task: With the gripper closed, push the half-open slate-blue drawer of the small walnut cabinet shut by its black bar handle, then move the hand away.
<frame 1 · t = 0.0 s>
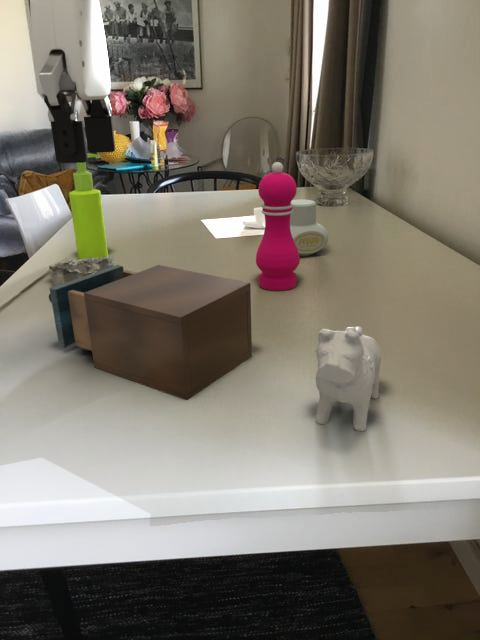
hand: (88, 156, 63), 24 cm above the table, tool pointing down, fingers open, 9 cm apart
pepper mill: (277, 285, 95), on the table
egg carton: (85, 281, 100), on the table
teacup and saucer: (248, 226, 136), on the table
air freshener: (300, 253, 113), on the table
soap dispenser: (95, 258, 114), on the table
drawer: (113, 310, 73), point 5 cm above the table, slide at 6.0 cm
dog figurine: (347, 414, 57), on the table
cabinet: (174, 361, 69), on the table
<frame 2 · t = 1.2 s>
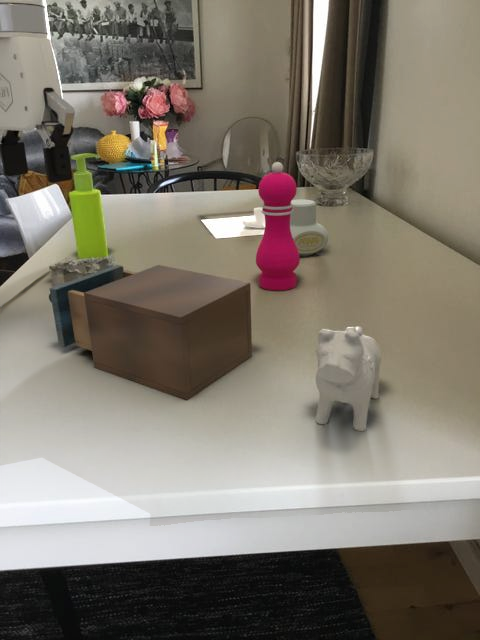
hand: (37, 177, 72), 21 cm above the table, tool pointing down, fingers open, 9 cm apart
nothing on the table moved.
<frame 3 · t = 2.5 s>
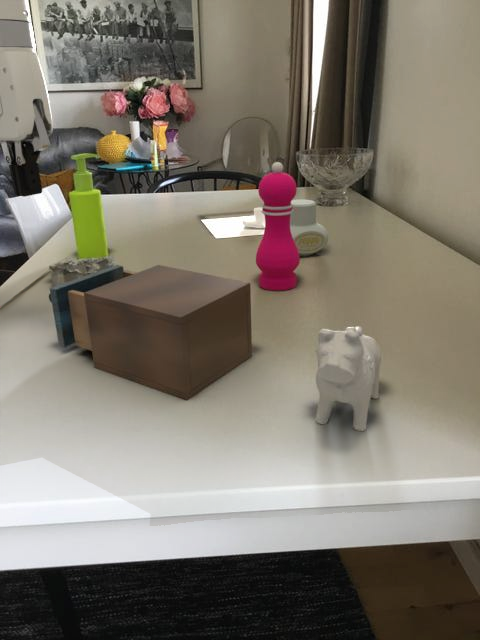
hand: (28, 194, 75), 18 cm above the table, tool pointing down, fingers closed
nothing on the table moved.
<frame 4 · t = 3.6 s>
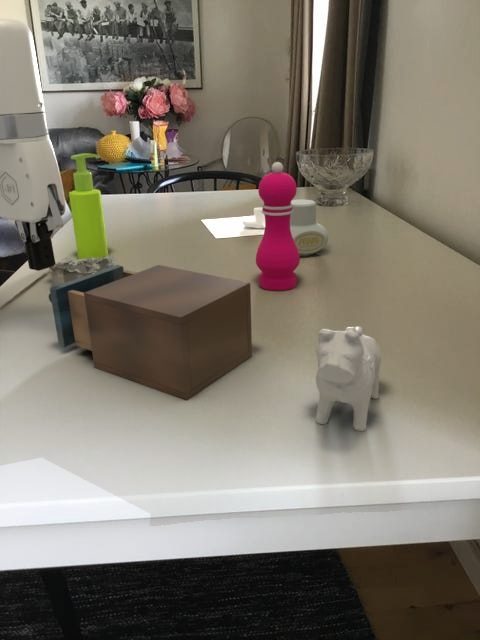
hand: (42, 267, 79), 8 cm above the table, tool pointing down, fingers closed
nothing on the table moved.
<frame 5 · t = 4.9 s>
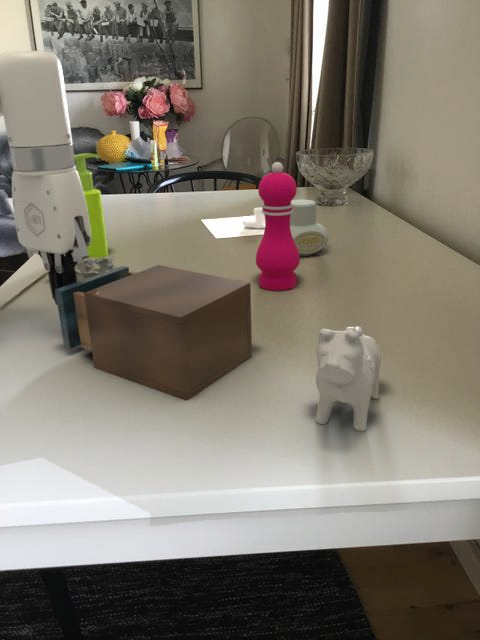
hand: (65, 297, 78), 5 cm above the table, tool pointing down, fingers closed
drawer: (118, 311, 72), point 5 cm above the table, slide at 4.9 cm, touching gripper
everything else where it was.
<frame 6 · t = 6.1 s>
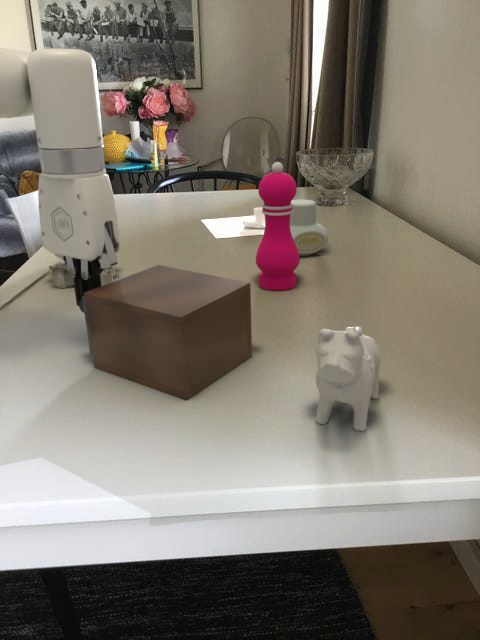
hand: (90, 303, 75), 5 cm above the table, tool pointing down, fingers closed
drawer: (147, 319, 70), point 5 cm above the table, slide at 0.0 cm, touching cabinet, gripper
everything else where it was.
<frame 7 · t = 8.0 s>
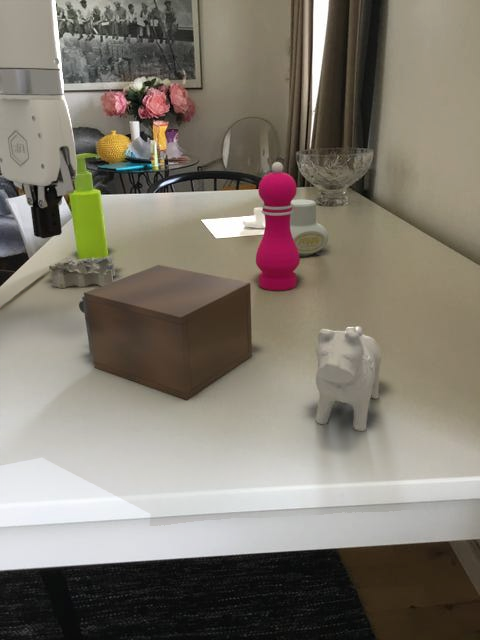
hand: (48, 235, 75), 13 cm above the table, tool pointing down, fingers closed
drawer: (147, 319, 70), point 5 cm above the table, slide at 0.0 cm, touching cabinet
everything else where it was.
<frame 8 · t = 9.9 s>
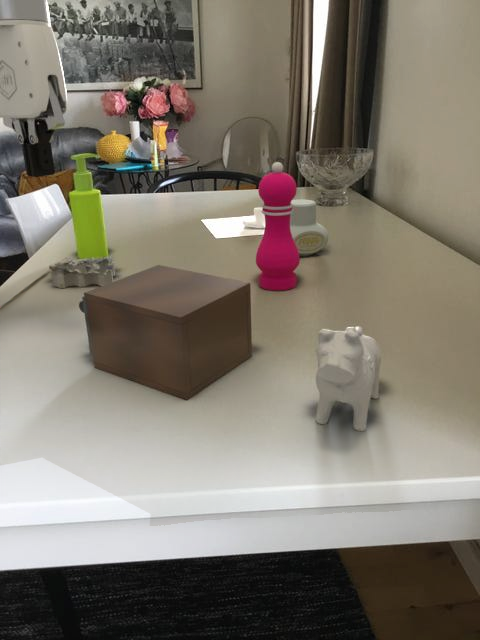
hand: (41, 175, 73), 21 cm above the table, tool pointing down, fingers closed
nothing on the table moved.
at the end: drawer slide at 0.0 cm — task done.
